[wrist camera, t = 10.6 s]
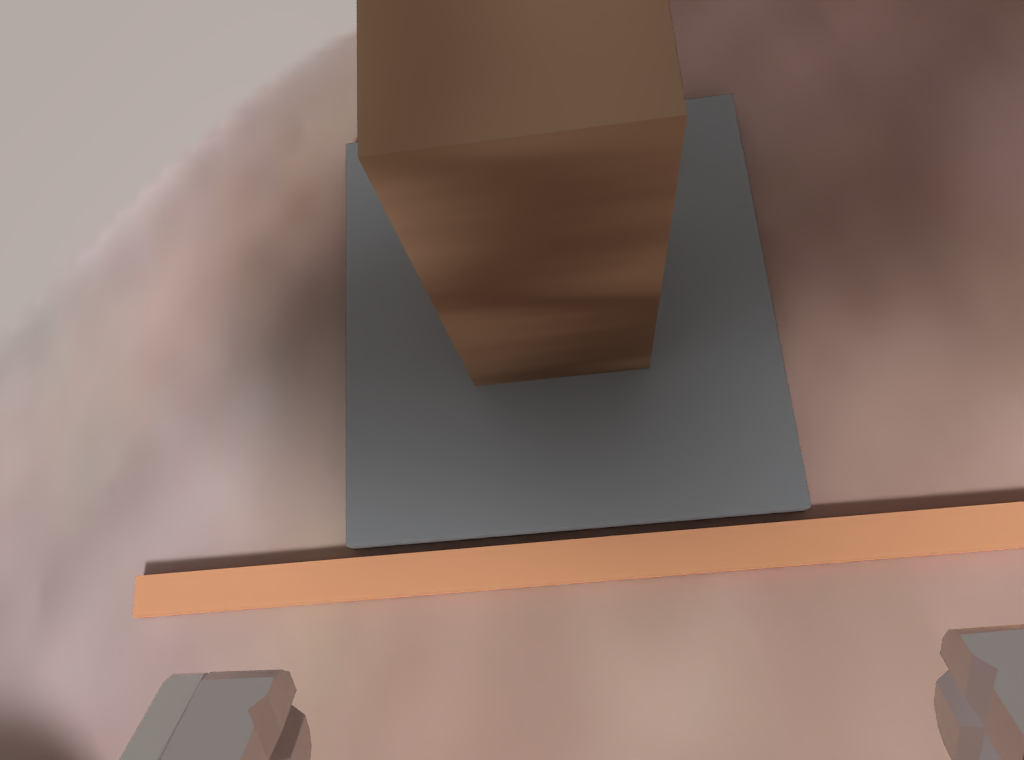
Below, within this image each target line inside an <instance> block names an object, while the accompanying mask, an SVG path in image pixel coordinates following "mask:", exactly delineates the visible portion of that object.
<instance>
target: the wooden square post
mask: <svg viewBox="0 0 1024 760" xmlns="http://www.w3.org/2000/svg"><path fill="white" fill-rule="evenodd" d="M357 120H358V159H359V161H360V163H361V165H362V167H363V169H364V171H365V173H366V174H367V176H368V178H369V180H370V182H371V184H372V186H373V188H374V190H375V192H376V194H377V196H378V198H379V200H380V202H381V204H382V206H383V208H384V210H385V212H386V214H387V215H388V217H389V219H390V221H391V223H392V225H393V227H394V229H395V231H396V233H397V235H398V237H399V239H400V241H401V243H402V245H403V247H404V249H405V251H406V253H407V255H408V257H409V258H410V260H411V262H412V264H413V266H414V268H415V270H416V272H417V274H418V276H419V278H420V280H421V282H422V284H423V286H424V288H425V290H426V292H427V294H428V296H429V298H430V299H431V301H432V303H433V305H434V307H435V309H436V311H437V313H438V315H439V317H440V319H441V321H442V323H443V325H444V327H445V329H446V331H447V333H448V335H449V337H450V339H451V340H452V342H453V344H454V346H455V348H456V350H457V352H458V354H459V356H460V358H461V360H462V362H463V364H464V366H465V368H466V370H467V372H468V374H469V376H470V378H471V380H472V382H473V383H474V385H475V386H482V385H492V384H501V383H511V382H521V381H531V380H541V379H550V378H560V377H570V376H580V375H589V374H599V373H609V372H619V371H629V370H638V369H648V368H650V361H651V354H652V348H653V341H654V334H655V328H656V321H657V314H658V308H659V301H660V294H661V288H662V281H663V274H664V268H665V261H666V254H667V248H668V241H669V234H670V228H671V221H672V214H673V208H674V201H675V194H676V188H677V181H678V174H679V168H680V161H681V154H682V148H683V141H684V134H685V128H686V121H687V109H686V103H685V97H684V91H683V85H682V80H681V74H680V68H679V62H678V56H677V50H676V44H675V38H674V32H673V26H672V20H671V14H670V8H669V2H668V0H357Z"/></svg>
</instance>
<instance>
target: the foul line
mask: <svg viewBox="0 0 1024 760" xmlns="http://www.w3.org/2000/svg"><path fill="white" fill-rule="evenodd" d="M1016 548H1024V501H1023V502H1011V503H999V504H987V505H975V506H963V507H951V508H939V509H927V510H916V511H904V512H892V513H880V514H868V515H856V516H844V517H832V518H820V519H808V520H796V521H785V522H773V523H761V524H749V525H737V526H725V527H713V528H701V529H689V530H677V531H666V532H654V533H642V534H630V535H618V536H606V537H594V538H582V539H570V540H558V541H547V542H535V543H523V544H511V545H499V546H487V547H475V548H463V549H451V550H439V551H427V552H416V553H404V554H392V555H380V556H368V557H356V558H344V559H332V560H320V561H308V562H297V563H285V564H273V565H261V566H249V567H237V568H225V569H213V570H201V571H189V572H178V573H166V574H154V575H142V576H136V582H135V594H134V606H133V618H145V617H157V616H170V615H183V614H195V613H208V612H221V611H233V610H246V609H259V608H271V607H284V606H296V605H309V604H322V603H334V602H347V601H360V600H372V599H385V598H397V597H410V596H423V595H435V594H448V593H461V592H473V591H486V590H498V589H511V588H524V587H536V586H549V585H562V584H574V583H587V582H599V581H612V580H625V579H637V578H650V577H663V576H675V575H688V574H700V573H713V572H726V571H738V570H751V569H764V568H776V567H789V566H801V565H814V564H827V563H839V562H852V561H865V560H877V559H890V558H902V557H915V556H928V555H940V554H953V553H966V552H978V551H991V550H1003V549H1016Z"/></svg>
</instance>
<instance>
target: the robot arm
mask: <svg viewBox="0 0 1024 760" xmlns="http://www.w3.org/2000/svg"><path fill="white" fill-rule="evenodd" d="M940 655H941V657H942V658H943V660H944V662H945V664H946V665H947V667H948V669H949V670H948V671H947V672H946V673H944V674H943V675H942V676H941V677H940V678H939V679H938V680H937V681H936V687H935V697H934V706H935V712H936V719H937V725H938V728H939V731H940V734H941V737H942V740H943V743H944V745H945V747H946V749H947V751H948V753H949V755H950V757H951V759H952V760H1024V624H1022V625H1008V626H993V627H979V628H964V629H950V630H948V631H947V632H946V634H945V635H944V637H943V639H942V645H941V651H940ZM295 693H296V687H295V685H294V682H293V680H292V677H291V675H290V672H288V671H285V670H257V671H226V672H210V673H188V674H173V675H172V676H171V677H169V678H168V679H167V680H166V681H164V682H163V684H162V685H161V687H160V689H159V691H158V692H157V694H156V696H155V698H154V699H153V701H152V703H151V705H150V706H149V708H148V710H147V712H146V713H145V715H144V717H143V719H142V720H141V722H140V724H139V726H138V727H137V729H136V731H135V733H134V734H133V736H132V738H131V740H130V742H129V743H128V745H127V747H126V749H125V750H124V752H123V754H122V756H121V757H120V759H119V760H310V757H311V738H310V729H309V726H308V723H307V720H306V716H305V715H304V714H303V713H302V712H300V711H299V710H298V709H297V708H295V707H294V706H293V705H291V704H292V702H293V699H294V696H295Z"/></svg>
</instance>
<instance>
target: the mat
mask: <svg viewBox="0 0 1024 760" xmlns="http://www.w3.org/2000/svg"><path fill="white" fill-rule="evenodd" d="M685 103H686V109H687V121H686V128H685V134H684V141H683V148H682V154H681V161H680V168H679V174H678V181H677V188H676V194H675V201H674V208H673V214H672V221H671V228H670V234H669V241H668V248H667V254H666V261H665V268H664V274H663V281H662V288H661V294H660V301H659V308H658V314H657V321H656V328H655V334H654V341H653V348H652V354H651V361H650V368H648V369H638V370H629V371H619V372H609V373H599V374H589V375H580V376H570V377H560V378H550V379H541V380H531V381H521V382H511V383H501V384H492V385H482V386H475V385H474V383H473V382H472V380H471V378H470V376H469V374H468V372H467V370H466V368H465V366H464V364H463V362H462V360H461V358H460V356H459V354H458V352H457V350H456V348H455V346H454V344H453V342H452V340H451V339H450V337H449V335H448V333H447V331H446V329H445V327H444V325H443V323H442V321H441V319H440V317H439V315H438V313H437V311H436V309H435V307H434V305H433V303H432V301H431V299H430V298H429V296H428V294H427V292H426V290H425V288H424V286H423V284H422V282H421V280H420V278H419V276H418V274H417V272H416V270H415V268H414V266H413V264H412V262H411V260H410V258H409V257H408V255H407V253H406V251H405V249H404V247H403V245H402V243H401V241H400V239H399V237H398V235H397V233H396V231H395V229H394V227H393V225H392V223H391V221H390V219H389V217H388V215H387V214H386V212H385V210H384V208H383V206H382V204H381V202H380V200H379V198H378V196H377V194H376V192H375V190H374V188H373V186H372V184H371V182H370V180H369V178H368V176H367V174H366V173H365V171H364V169H363V167H362V165H361V163H360V161H359V159H358V142H356V143H349V144H346V546H347V547H349V548H352V549H360V548H372V547H384V546H396V545H407V544H419V543H431V542H443V541H455V540H466V539H478V538H490V537H502V536H513V535H525V534H537V533H549V532H560V531H572V530H584V529H596V528H607V527H619V526H631V525H643V524H655V523H666V522H678V521H690V520H702V519H713V518H725V517H737V516H749V515H760V514H772V513H784V512H796V511H806V510H807V509H808V508H810V507H811V502H810V497H809V492H808V486H807V481H806V476H805V471H804V466H803V460H802V455H801V450H800V445H799V439H798V434H797V429H796V424H795V419H794V413H793V408H792V403H791V398H790V393H789V387H788V382H787V377H786V372H785V366H784V361H783V356H782V351H781V346H780V340H779V335H778V330H777V325H776V319H775V314H774V309H773V304H772V299H771V293H770V288H769V283H768V278H767V272H766V267H765V262H764V257H763V252H762V246H761V241H760V236H759V231H758V226H757V220H756V215H755V210H754V205H753V199H752V194H751V189H750V184H749V179H748V173H747V168H746V163H745V158H744V152H743V147H742V142H741V137H740V132H739V126H738V121H737V116H736V111H735V105H734V100H733V95H732V94H725V95H717V96H710V97H702V98H694V99H687V100H685Z"/></svg>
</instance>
